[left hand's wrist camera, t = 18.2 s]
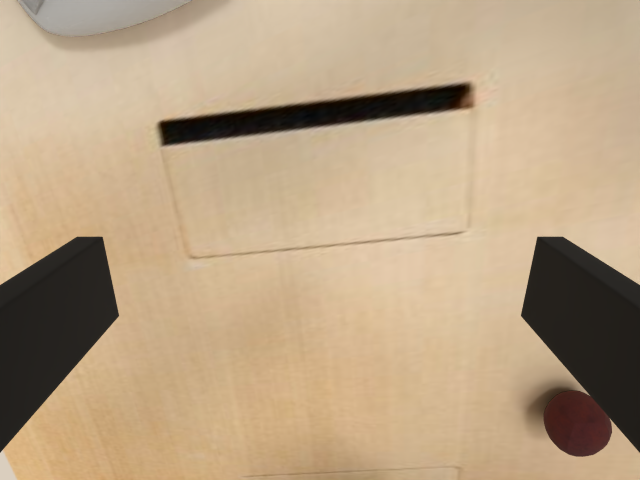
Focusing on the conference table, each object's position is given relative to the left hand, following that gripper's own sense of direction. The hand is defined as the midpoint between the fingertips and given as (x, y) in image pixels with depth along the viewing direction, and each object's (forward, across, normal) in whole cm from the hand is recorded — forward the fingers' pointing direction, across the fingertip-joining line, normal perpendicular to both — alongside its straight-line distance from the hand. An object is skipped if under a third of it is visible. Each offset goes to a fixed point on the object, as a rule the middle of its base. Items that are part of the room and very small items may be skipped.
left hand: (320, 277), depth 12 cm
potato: (+31, +32, -34) cm, 57 cm away
